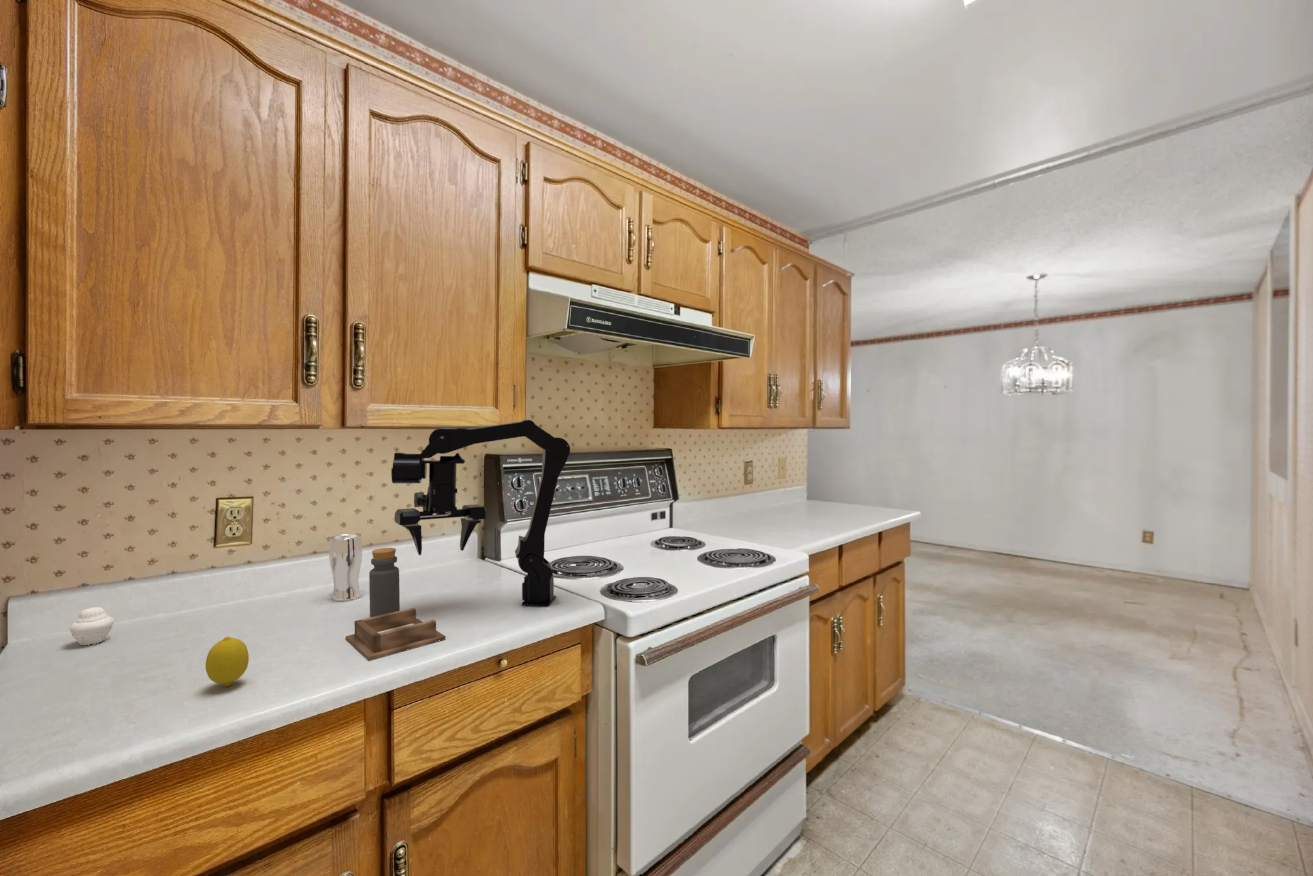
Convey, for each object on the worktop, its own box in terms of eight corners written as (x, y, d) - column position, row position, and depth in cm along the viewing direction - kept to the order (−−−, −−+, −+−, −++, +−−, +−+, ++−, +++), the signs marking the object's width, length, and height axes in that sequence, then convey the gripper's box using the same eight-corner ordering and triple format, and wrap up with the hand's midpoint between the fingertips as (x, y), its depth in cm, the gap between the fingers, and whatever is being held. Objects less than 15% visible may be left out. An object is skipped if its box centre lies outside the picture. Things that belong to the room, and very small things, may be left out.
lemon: (221, 678, 92) (220, 631, 92) (257, 677, 93) (256, 630, 93) (197, 695, 87) (196, 644, 87) (234, 693, 87) (233, 643, 87)
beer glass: (368, 596, 137) (367, 535, 137) (339, 603, 131) (338, 540, 131) (353, 591, 141) (351, 532, 140) (324, 599, 135) (323, 537, 134)
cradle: (417, 621, 119) (417, 604, 119) (445, 639, 109) (445, 621, 109) (345, 639, 109) (345, 621, 109) (368, 660, 99) (368, 640, 99)
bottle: (387, 624, 118) (386, 553, 117) (363, 622, 119) (362, 552, 118) (405, 614, 123) (404, 547, 123) (382, 613, 125) (381, 546, 124)
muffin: (87, 637, 111) (85, 603, 110) (122, 635, 112) (121, 601, 112) (60, 650, 105) (58, 613, 104) (98, 647, 106) (97, 611, 106)
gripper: (471, 478, 137) (470, 542, 137) (389, 481, 126) (388, 550, 126) (488, 483, 128) (486, 550, 129) (401, 486, 117) (399, 560, 117)
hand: (441, 552), depth 125 cm, fingers open, 9 cm apart
